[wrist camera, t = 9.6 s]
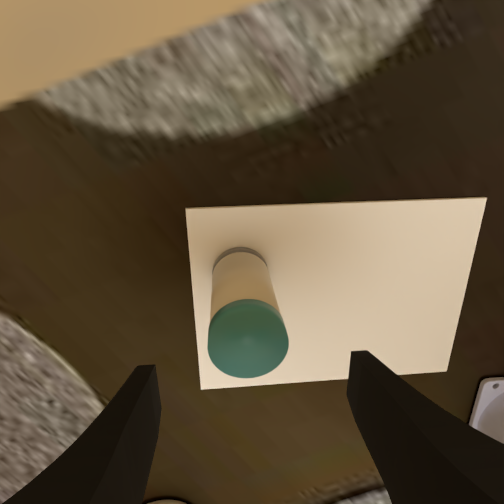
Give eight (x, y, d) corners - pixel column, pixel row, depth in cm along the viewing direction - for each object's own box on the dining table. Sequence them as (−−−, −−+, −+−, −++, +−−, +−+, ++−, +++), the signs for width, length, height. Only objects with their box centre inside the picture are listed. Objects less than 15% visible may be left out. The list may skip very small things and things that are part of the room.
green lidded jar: (269, 245, 21) (291, 310, 15) (267, 296, 23) (286, 376, 16) (211, 246, 21) (206, 312, 15) (212, 297, 22) (208, 380, 16)
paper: (483, 196, 22) (487, 198, 22) (444, 368, 27) (446, 371, 26) (185, 207, 21) (185, 209, 20) (201, 386, 25) (201, 389, 25)
